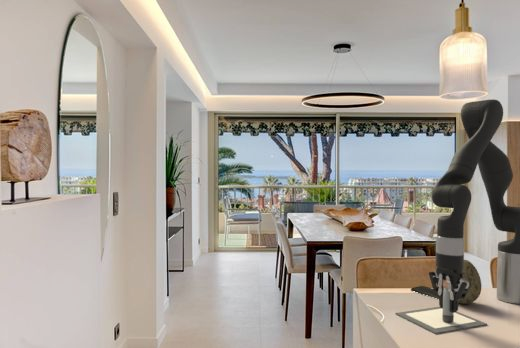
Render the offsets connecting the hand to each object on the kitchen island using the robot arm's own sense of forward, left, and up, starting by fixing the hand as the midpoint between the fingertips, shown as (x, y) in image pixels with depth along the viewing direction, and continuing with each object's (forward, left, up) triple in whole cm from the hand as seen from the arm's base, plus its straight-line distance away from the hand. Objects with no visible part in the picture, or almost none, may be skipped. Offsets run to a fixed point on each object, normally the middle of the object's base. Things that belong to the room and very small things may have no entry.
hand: (448, 309), depth 117 cm
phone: (-18, -23, -5) cm, 30 cm away
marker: (0, 0, -3) cm, 3 cm away
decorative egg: (-20, -12, -4) cm, 24 cm away
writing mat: (0, -3, -4) cm, 5 cm away
